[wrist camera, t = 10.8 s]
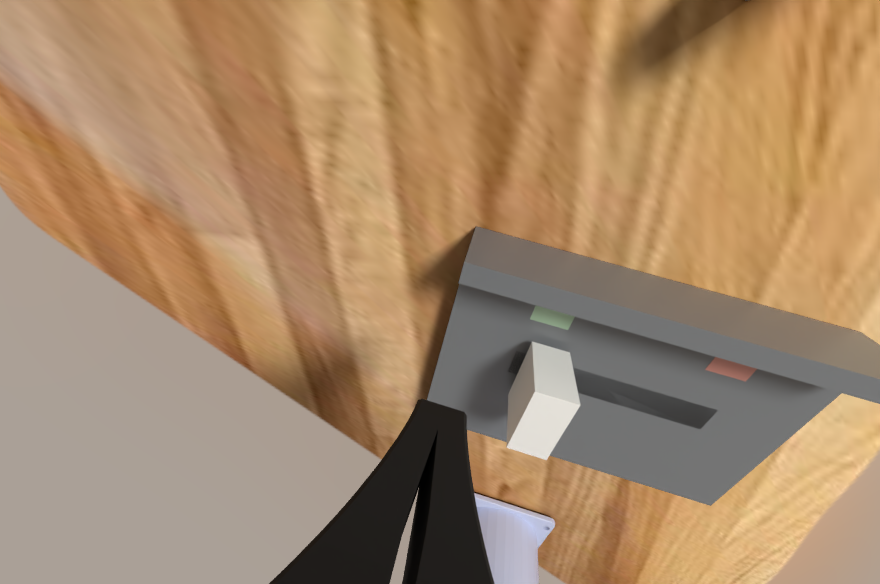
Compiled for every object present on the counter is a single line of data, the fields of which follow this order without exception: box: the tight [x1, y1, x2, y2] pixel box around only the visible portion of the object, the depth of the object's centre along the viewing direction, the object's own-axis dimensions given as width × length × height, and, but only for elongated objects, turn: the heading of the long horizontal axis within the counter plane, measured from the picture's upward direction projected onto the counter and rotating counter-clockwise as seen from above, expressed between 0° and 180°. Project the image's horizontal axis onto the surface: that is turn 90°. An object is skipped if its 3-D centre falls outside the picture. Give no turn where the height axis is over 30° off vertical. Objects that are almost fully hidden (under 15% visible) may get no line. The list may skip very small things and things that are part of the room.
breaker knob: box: [507, 342, 580, 460], centre depth 18 cm, size 4×2×4 cm, turn 168°
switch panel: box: [427, 226, 880, 506], centre depth 19 cm, size 13×19×4 cm
